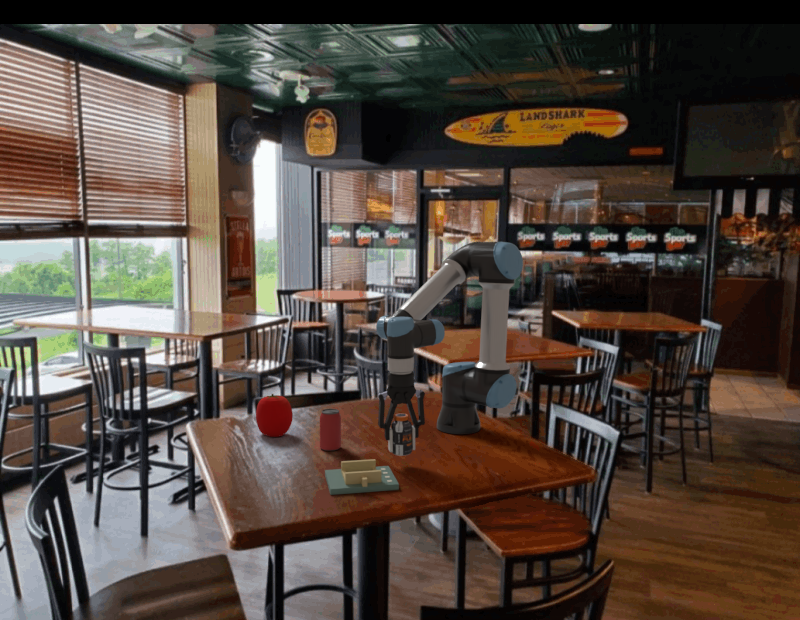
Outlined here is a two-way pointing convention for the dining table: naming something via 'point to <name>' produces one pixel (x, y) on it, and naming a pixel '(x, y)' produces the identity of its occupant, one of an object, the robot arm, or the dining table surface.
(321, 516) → the dining table surface
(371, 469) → the board
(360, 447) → the dining table surface
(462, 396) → the robot arm
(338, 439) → the beer can
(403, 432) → the pill bottle
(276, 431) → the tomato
